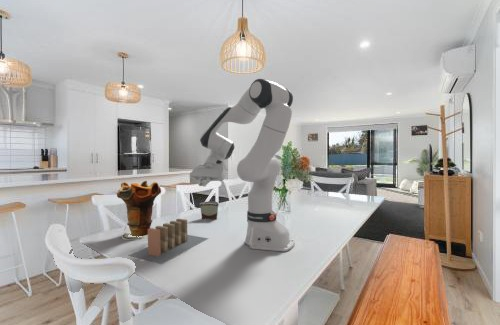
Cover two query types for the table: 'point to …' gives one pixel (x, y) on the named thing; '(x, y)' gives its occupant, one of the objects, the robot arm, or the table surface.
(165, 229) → the domino
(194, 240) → the mat
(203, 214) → the food container
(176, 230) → the domino
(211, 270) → the table surface
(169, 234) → the domino
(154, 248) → the domino
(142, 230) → the decorative vase
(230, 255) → the table surface
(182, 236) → the domino
